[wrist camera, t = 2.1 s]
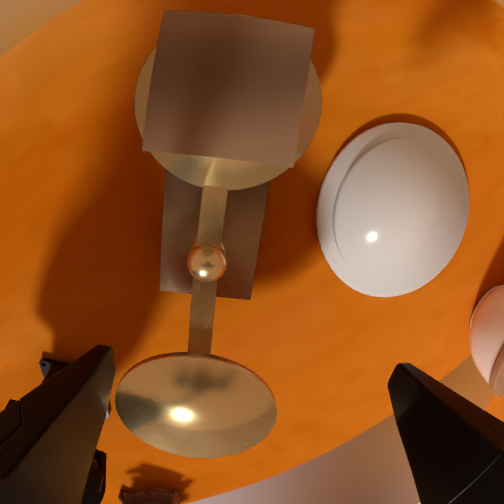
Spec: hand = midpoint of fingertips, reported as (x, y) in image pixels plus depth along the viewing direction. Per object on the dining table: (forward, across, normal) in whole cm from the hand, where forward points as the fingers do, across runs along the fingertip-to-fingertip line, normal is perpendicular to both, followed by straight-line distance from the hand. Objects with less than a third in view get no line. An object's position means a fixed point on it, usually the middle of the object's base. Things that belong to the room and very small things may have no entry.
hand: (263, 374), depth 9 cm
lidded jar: (+13, -26, +5) cm, 30 cm away
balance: (+13, +2, 0) cm, 13 cm away
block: (+8, +2, -8) cm, 12 cm away
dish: (+13, -11, -3) cm, 17 cm away
